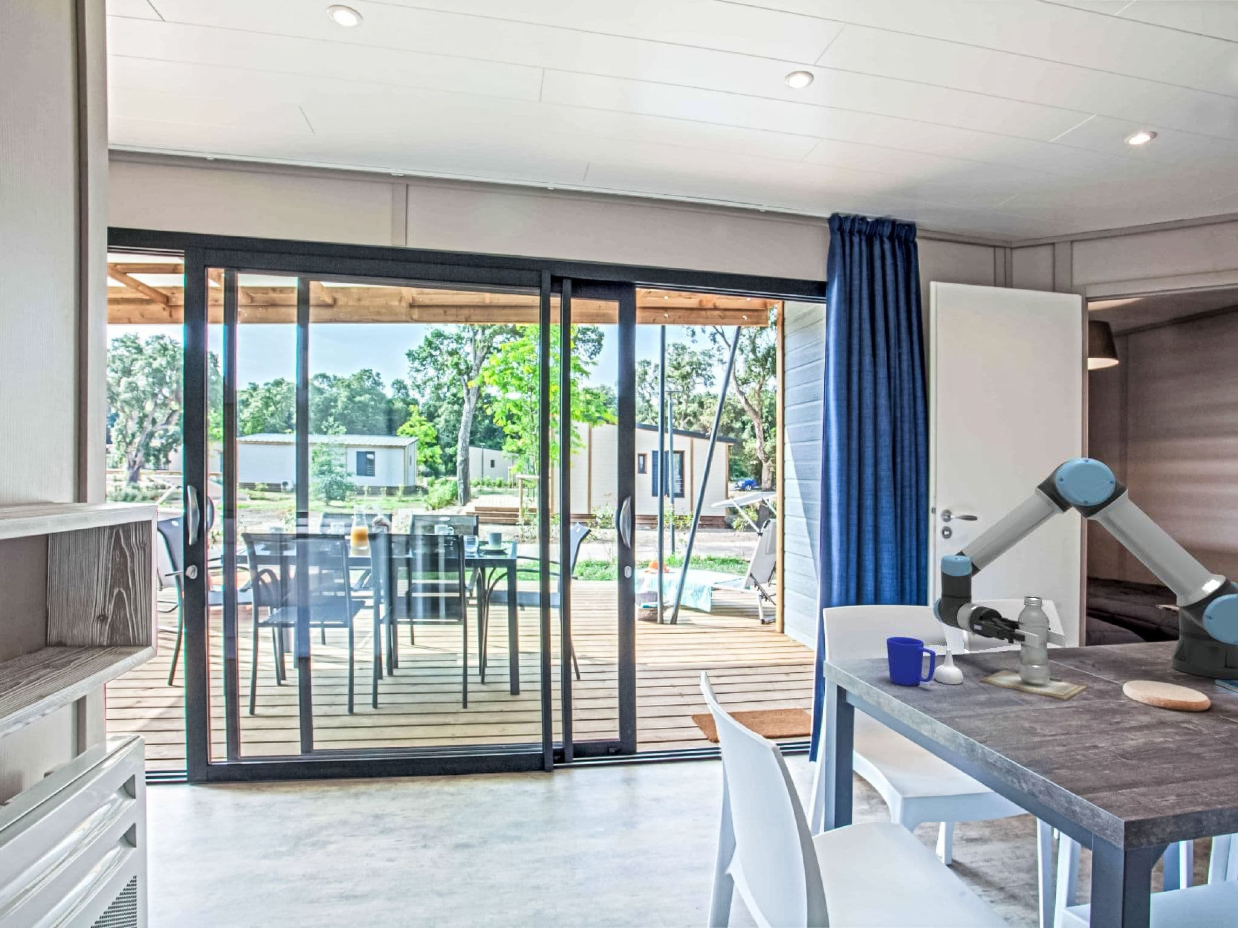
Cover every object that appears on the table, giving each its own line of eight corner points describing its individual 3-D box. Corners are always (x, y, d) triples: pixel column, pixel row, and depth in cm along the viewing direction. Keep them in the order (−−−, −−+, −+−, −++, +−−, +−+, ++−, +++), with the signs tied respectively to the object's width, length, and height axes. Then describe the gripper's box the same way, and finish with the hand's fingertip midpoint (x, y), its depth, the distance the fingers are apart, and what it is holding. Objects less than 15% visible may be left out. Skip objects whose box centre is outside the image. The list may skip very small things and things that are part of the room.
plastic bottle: (1041, 679, 161) (1040, 595, 162) (1056, 688, 155) (1055, 600, 155) (1012, 678, 162) (1011, 594, 162) (1026, 687, 155) (1025, 599, 156)
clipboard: (1086, 688, 157) (1086, 682, 157) (1065, 700, 148) (1065, 694, 148) (1003, 671, 171) (1003, 666, 171) (979, 681, 162) (979, 676, 162)
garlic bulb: (929, 681, 164) (926, 649, 164) (945, 675, 167) (942, 643, 167) (952, 688, 159) (950, 655, 159) (969, 682, 162) (967, 649, 162)
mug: (922, 694, 152) (921, 649, 153) (879, 680, 163) (879, 638, 163) (946, 689, 156) (946, 645, 157) (903, 676, 167) (902, 635, 167)
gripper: (1013, 633, 178) (1088, 656, 155) (947, 636, 175) (1013, 659, 152) (1013, 605, 178) (1087, 623, 155) (947, 607, 175) (1013, 625, 152)
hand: (1050, 641), depth 153 cm, fingers closed on plastic bottle, 6 cm apart
